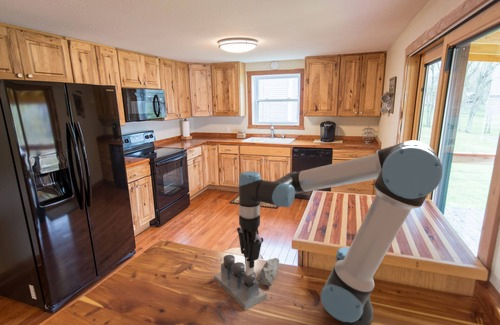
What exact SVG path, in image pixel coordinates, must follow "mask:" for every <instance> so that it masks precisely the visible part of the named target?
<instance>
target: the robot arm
mask: <svg viewBox="0 0 500 325" xmlns="http://www.w3.org/2000/svg"><path fill="white" fill-rule="evenodd" d="M442 178H443V165H442V162H441V159H440V158H439V156H438V155H437V152H435V150H434V149H433V148H432V146H430V145H429V144H427V143H425V142H423V141H420V140H406V141H402V142H399V143H397V144H394V145H391V146H388V147H384V148H381V149H377V150H376V151H375V153H373V154H370V155H365V156H361V157H357V158H352V159H349V160H344V161H339V162H335V163H331V164H327V165H322V166H318V167H313V168H309V169H306V170H305V169H304V170H301V171H292V172H288V173H286V174H285V175H283V176H282V177H280V178H278V179H276V180H273V181H272V180H264V179H262V177H261V173H260V172H257V171H255V170H253V171H251V170H250V171H247V170H246V171H243V172H241V173H240V174H239V177H238V201H239V202H238V214H239V215H238V224H239V226H238V227H237V228H236V231H237V234H238V239H239V240H238V241H239V247H240V252H241V255H243V257H244V265H245V272H246V275H247V276H249V275H251V274H253V273H254V272H255V271H254V270H255V269H254V268H255V261H256V260H259V259H260V258H259V257H260V253H261V247H262V244H263V242H264V238H263V237H260V236H259V234H260V232H259V227H260V225H261V203H264V204H267V205H272V206H276V207H279V208H280V207H283V208H291V206H292V205H293V202H294V201H295V196H296V194H301V193H305V192H311V191H317V190H323V189H327V188H328V189H329V188H333V187H340V186H346V185H349V184H355V183H362V182H365V181H366V182H368V181H372V180H375V182H374V185H373V187H374V190H375V192H376V194H375V197H374V198H373V200H372V202H371V204H370V206H369V208H368V210H367V212H366V214H365V216H364V218H363V220H362V222H361V224H360V226H359V228H358V230H357V232H356V234H355V236H354V238H353V240H352V242H351V244H350V246H349V247H348V246H343V247H340V248H338V249H337V250H336V254H335V263H334V265H333V268H332V270H331V272H330V274H329V276H328V277H327V279H326V281H325V284H324V286H322V289H321V293H320V302H321V304H322V305H323V308H324V310H326V312H327V313H328V314H329V315H331V316H332V317H333V318H334V319H335V320H336V321H337V322H339V323H341V324H343V325H370V324H372V321H373V317H374V309H373V304H372V302H371V301H372V300H371V296H370V295H371V294H372V292H373V290H374V289H375V281H374V275H375V274H376V273H377V270H378V269H379V266H381V264H382V261H383V259H384V258H385V256H386V254H387V253H388V251H389V249H390V248H391V246H392V244H393V242H394V240H395V238H396V237H397V235H398V233H399V232H400V230H401V228H402V226H403V225H404V223H405V221H406V219H407V218H408V216H409V214H410V212H411V211H412V210H414V209H419V208H421V207H422V206H423V204H424V202H425V201H426V199H427V198H428V196H429V195H430V194H431V193H432V192H434V191H435V190H436V189H437V187H439V184H440V183H441V180H442Z"/></svg>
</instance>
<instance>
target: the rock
mask: <svg viewBox="0 0 500 325" xmlns="http://www.w3.org/2000/svg"><path fill="white" fill-rule="evenodd" d="M279 263H280V260H279V258H277V257H274V258H270V259H268V260H266V262H265V263H264V265H263V266H262V268H261V270H260V272H259V273H258V275H257V280H258V282H259V284H260V285H261V284H262V285H263V286H266V287H268V286H269V287H272V283H273V281H274V279H275V278H276V276H278V273H277V272H278V270H279V269H280V264H279Z"/></svg>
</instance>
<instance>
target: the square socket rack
mask: <svg viewBox="0 0 500 325" xmlns="http://www.w3.org/2000/svg"><path fill="white" fill-rule="evenodd" d="M214 281H215V282H217V283H218V285H219V286H220V287H222V289H223V290H225V291H226V293H227V294H229V295H230V296H231V297H232V299H234V301H236V303H238V305H240V307H242V309H243V310H244V311H247V310H249V309H251V308H252V307H254V306H256V305H258V304H259V303H261V302H263V301H264V300H265V299H267V293H266V292H265V291H264V290H263V289H262V288H261V287H260V282H259V280H258V281H257V280H256V282H255V283H254V284H252V285H250V286H248V285H247V284H246V283H244V274H242V275H240V276H237V275H235V274H234V273H233V266H232V267H229V268H227V267H226V266H225V265H224V262H222V263H221V264H220V272H219V273H215V275H214Z"/></svg>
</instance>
